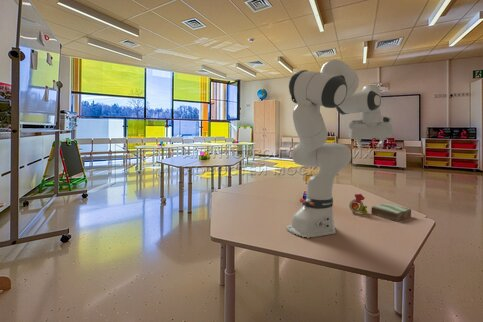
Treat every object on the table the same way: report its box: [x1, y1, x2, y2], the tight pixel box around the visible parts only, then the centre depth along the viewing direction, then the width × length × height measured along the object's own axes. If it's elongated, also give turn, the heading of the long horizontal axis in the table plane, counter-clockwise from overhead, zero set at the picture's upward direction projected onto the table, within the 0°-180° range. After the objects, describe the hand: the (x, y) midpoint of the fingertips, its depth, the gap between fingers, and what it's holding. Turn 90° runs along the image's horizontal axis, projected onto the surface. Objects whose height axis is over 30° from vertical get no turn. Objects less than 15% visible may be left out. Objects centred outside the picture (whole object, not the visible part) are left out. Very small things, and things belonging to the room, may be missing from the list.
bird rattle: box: [348, 193, 368, 215], centre depth 134 cm, size 6×11×9 cm
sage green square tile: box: [370, 202, 412, 222], centre depth 131 cm, size 13×13×4 cm
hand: (370, 147), depth 125 cm, fingers open, 8 cm apart
